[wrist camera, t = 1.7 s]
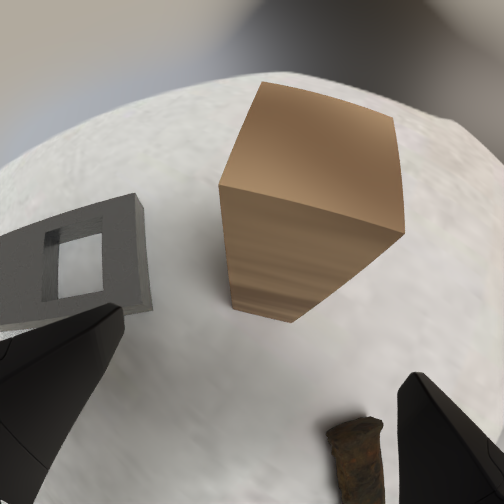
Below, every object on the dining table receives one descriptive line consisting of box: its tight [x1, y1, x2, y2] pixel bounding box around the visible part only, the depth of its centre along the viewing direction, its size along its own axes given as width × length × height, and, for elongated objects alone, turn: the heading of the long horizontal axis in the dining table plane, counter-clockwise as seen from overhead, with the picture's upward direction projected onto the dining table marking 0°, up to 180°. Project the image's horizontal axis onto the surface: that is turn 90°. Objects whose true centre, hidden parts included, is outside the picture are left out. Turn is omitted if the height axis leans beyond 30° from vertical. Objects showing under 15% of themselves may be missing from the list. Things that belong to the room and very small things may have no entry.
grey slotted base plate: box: [0, 193, 153, 332], centre depth 19 cm, size 18×9×2 cm, turn 103°
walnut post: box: [218, 82, 405, 323], centre depth 14 cm, size 4×4×15 cm
